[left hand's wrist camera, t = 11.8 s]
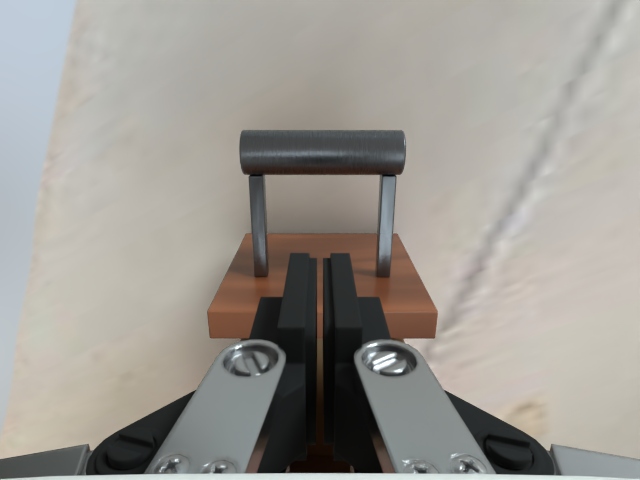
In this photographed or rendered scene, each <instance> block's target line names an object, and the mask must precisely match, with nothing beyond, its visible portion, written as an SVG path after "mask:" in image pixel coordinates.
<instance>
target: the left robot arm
mask: <svg viewBox="0 0 640 480" xmlns="http://www.w3.org/2000/svg"><path fill="white" fill-rule="evenodd" d="M316 414H317V258H310V254H309V253H290V258H289V263H288V269H287V275H286V281H285V286H284V292H283V297H261V298H260V301H259V304H258V308H257V311H256V315H255V319H254V322H253V326H252V329H251V333H250V336H249V340H245V341H240V342H237V343H235V344H232V345H230V346H228V347H227V348H225V349H224V350H223V351H222V352H221V353H220V354H219V355H218V356H217V358H216V359H215V361H214V363H213V364H212V366H211V367H210V369H209V371H208V372H207V374H206V375H205V377H204V379H203V380H202V382H201V383H200V385H199V386H198V388H197V390H195V391H193V392H191V393H189V394H187V395H185V396H183V397H182V398H180V399H178V400H176V401H174V402H172V403H170V404H168V405H166V406H165V407H163V408H161V409H159V410H157V411H155V412H153V413H151V414H149V415H148V416H146V417H144V418H142V419H140V420H138V421H136V422H134V423H132V424H131V425H129V426H127V427H125V428H123V429H121V430H119V431H117V432H116V433H114V434H112V435H111V436H109V437H108V438H106V439H105V440H104V441H103V442H102V443H101V444H99V445H98V446H97V447H96V448H95V449H94V450H93V451H90V448H89V444H85V445H80V446H74V447H68V448H63V449H57V450H51V451H45V452H40V453H34V454H28V455H23V456H17V457H11V458H5V459H0V480H640V459H635V458H629V457H623V456H617V455H612V454H606V453H600V452H595V451H589V450H583V449H577V448H572V447H566V446H560V445H555V444H551V448H550V451H547V450H546V449H545V448H544V447H543V446H542V445H541V444H539V443H538V442H537V441H536V440H535V439H534V438H532V437H531V436H529V435H528V434H526V433H524V432H523V431H521V430H519V429H517V428H515V427H513V426H511V425H509V424H508V423H506V422H504V421H502V420H500V419H498V418H496V417H494V416H492V415H491V414H489V413H487V412H485V411H483V410H481V409H479V408H477V407H475V406H474V405H472V404H470V403H468V402H466V401H464V400H462V399H460V398H458V397H457V396H455V395H453V394H451V393H449V392H447V391H445V390H443V388H442V386H441V385H440V383H439V382H438V380H437V379H436V377H435V375H434V374H433V372H432V371H431V369H430V367H429V366H428V364H427V363H426V361H425V359H424V358H423V356H422V355H421V354H420V353H419V352H418V351H417V350H416V349H415V348H413V347H412V346H410V345H408V344H405V343H403V342H400V341H395V340H391V336H390V333H389V329H388V326H387V322H386V319H385V315H384V311H383V308H382V304H381V301H380V298H379V297H357V292H356V286H355V281H354V275H353V269H352V263H351V258H350V253H331V254H330V258H323V414H324V445H333V460H334V461H346V462H347V463H349V464H350V473H290V464H291V463H293V462H294V461H306V460H307V445H316Z"/></svg>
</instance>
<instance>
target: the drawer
mask: <svg viewBox="0 0 640 480" xmlns="http://www.w3.org/2000/svg"><path fill="white" fill-rule="evenodd" d="M405 157H406V141H405V135H404V132H403V131H402V130H243V131H242V132H241V136H240V163H241V169H242V172H243V174H245V175H250V176H249V191H250V209H251V226H252V234H246V235H245V237H244V239H243V241H242V243H241V245H240V247H239V249H238V251H237V253H236V255H235V257H234V259H233V261H232V263H231V265H230V267H229V269H228V271H227V273H226V275H225V277H224V279H223V281H222V283H221V285H220V287H219V289H218V291H217V293H216V295H215V297H214V299H213V301H212V303H211V305H210V307H209V309H208V311H207V314H208V324H209V333H210V338H241V341H245V340H249V336H250V333H251V329H252V326H253V322H254V319H255V315H256V311H257V308H258V304H259V301H260V298H261V297H283V292H284V286H285V281H286V275H287V269H288V263H289V258H290V253H309V254H310V258H317V414H316V445H307V460H306V461H294V462H293V463H291V464H290V473H350V464H349V463H347V462H346V461H334V460H333V445H324V414H323V258H330V254H331V253H350V258H351V263H352V269H353V275H354V281H355V286H356V292H357V297H379V298H380V301H381V304H382V308H383V311H384V315H385V319H386V322H387V326H388V329H389V333H390V336H391V340H395V341H400V342H403V343H404V340H403V338H435V334H436V325H437V315H438V311H437V309H436V307H435V305H434V303H433V301H432V300H431V298H430V296H429V294H428V292H427V290H426V288H425V286H424V284H423V282H422V280H421V278H420V276H419V275H418V273H417V271H416V269H415V267H414V265H413V263H412V261H411V259H410V257H409V255H408V253H407V251H406V249H405V248H404V246H403V244H402V242H401V240H400V238H399V236H398V234H393V224H394V208H395V192H396V175H401V174H402V172H403V169H404V165H405ZM265 175H380V186H379V206H378V226H377V234H267V214H266V191H265Z"/></svg>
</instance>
